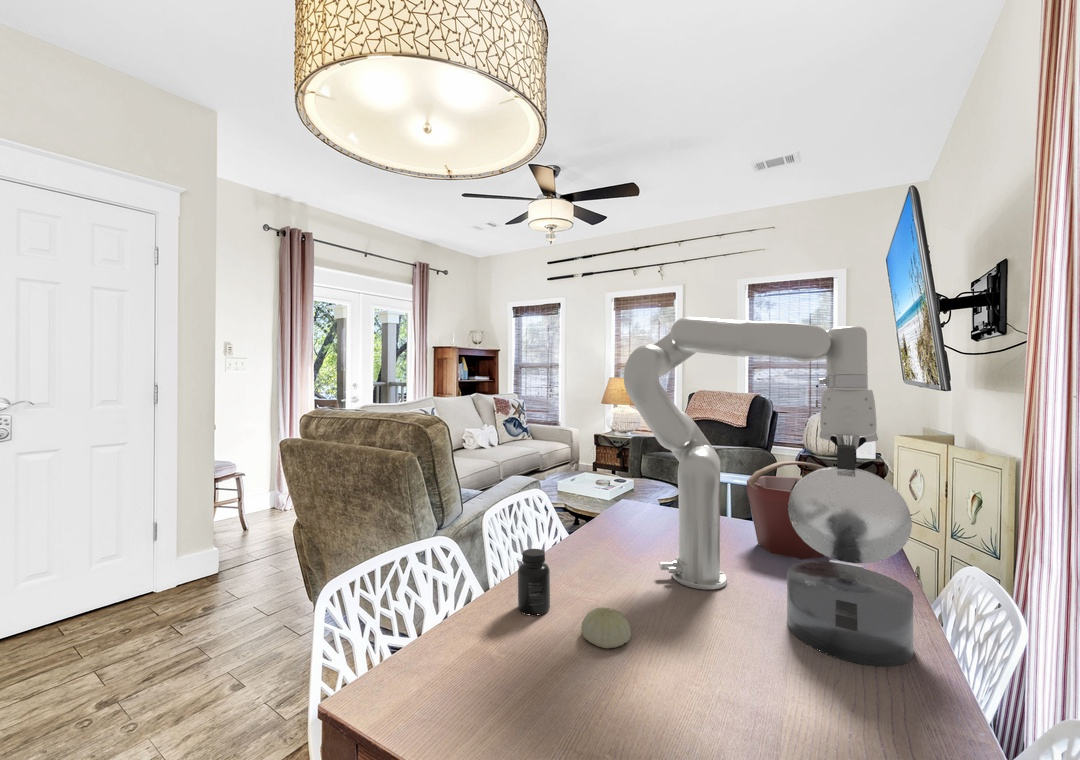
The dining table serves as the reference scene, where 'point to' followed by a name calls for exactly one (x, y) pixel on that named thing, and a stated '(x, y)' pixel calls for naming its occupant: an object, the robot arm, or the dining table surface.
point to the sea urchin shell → (606, 628)
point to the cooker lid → (849, 512)
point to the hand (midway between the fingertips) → (848, 466)
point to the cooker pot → (850, 612)
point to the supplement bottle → (533, 583)
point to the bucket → (777, 512)
